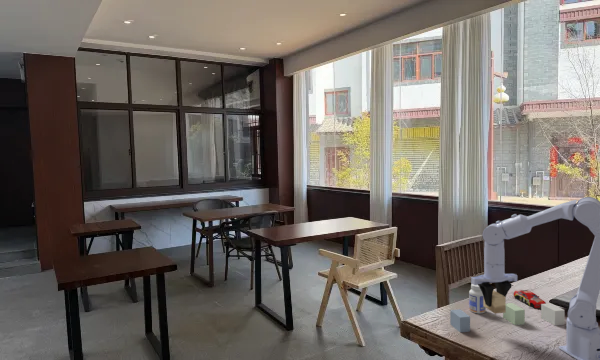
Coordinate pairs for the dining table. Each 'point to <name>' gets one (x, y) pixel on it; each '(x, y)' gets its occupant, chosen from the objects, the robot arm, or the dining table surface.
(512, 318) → the sage brick
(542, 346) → the dining table surface
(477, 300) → the pill bottle
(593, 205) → the robot arm
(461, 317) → the slate-blue brick
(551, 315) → the grey brick
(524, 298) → the race car
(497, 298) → the oak brick
